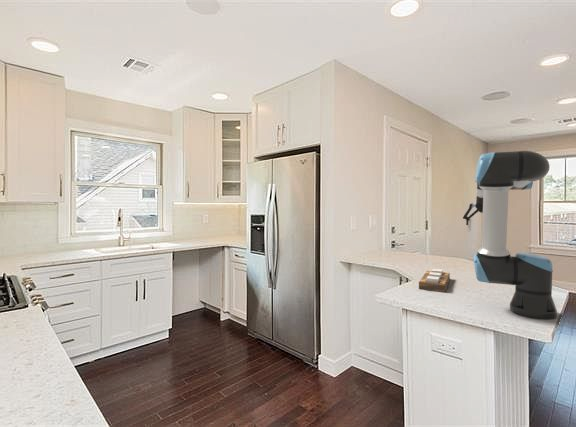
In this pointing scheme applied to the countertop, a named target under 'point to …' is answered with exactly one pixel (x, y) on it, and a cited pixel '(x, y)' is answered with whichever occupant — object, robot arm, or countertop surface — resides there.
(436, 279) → the near button
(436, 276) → the middle button
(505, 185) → the robot arm
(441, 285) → the button board
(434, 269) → the far button
